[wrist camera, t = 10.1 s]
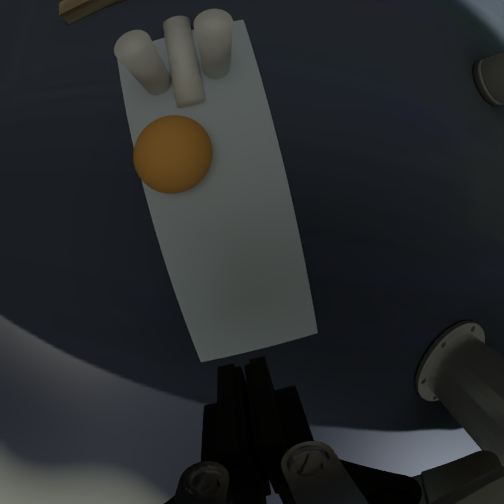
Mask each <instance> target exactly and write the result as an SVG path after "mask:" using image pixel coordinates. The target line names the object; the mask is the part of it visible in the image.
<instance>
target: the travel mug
mask: <svg viewBox="0 0 504 504" xmlns="http://www.w3.org/2000/svg"><path fill="white" fill-rule="evenodd" d="M473 74H474V79H475V83H476V85H477V88H478V90H479V92H480V93H481V95H482V96H483V98H484V99H485V100H486V101H487V102H488V103H490V104H492V105H495V106H496V105H502V104H504V53H501V54H497V55H494V56H491V57H488V58H485V59H482V60H479V61H477V62H476V63H475V65H474V68H473Z"/></svg>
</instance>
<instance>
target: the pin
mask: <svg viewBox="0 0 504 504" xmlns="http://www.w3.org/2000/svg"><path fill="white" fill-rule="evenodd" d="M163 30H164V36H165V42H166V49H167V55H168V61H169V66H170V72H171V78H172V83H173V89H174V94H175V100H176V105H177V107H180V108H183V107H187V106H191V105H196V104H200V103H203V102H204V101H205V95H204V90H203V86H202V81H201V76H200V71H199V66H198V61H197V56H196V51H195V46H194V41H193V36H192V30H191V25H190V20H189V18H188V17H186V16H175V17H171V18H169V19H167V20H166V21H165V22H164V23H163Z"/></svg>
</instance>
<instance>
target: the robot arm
mask: <svg viewBox="0 0 504 504" xmlns="http://www.w3.org/2000/svg"><path fill="white" fill-rule="evenodd" d="M245 374H246V381H245V378H244V375H243V372H242V369H241V367H240V366H238V367H235V365H234V364H229V365H224V366H219V367H218V387H217V403H214V404H208V405H205V406H204V414H203V431H202V451H201V462H199V463H196V464H193V465H192V466H190V467H188V468H187V469H186V470H185V471H184V472H183V474H182V475H181V477H180V480H179V483H178V487H177V490H176V494H175V496H174V497H172V498H171V499H170V500H169V501H167V502H166V503H164V504H266V496H267V495H271V490H270V484H269V480H270V483H271V485H272V487H273V489H274V491H275V493H276V494H279V496H280V498H281V500H282V502H283V504H504V357H502V356H501V355H500V354H498V353H497V352H496V351H494V350H493V349H492V348H490V347H489V346H488V345H486V344H485V335H484V331H483V329H482V327H481V326H480V325H478V324H477V323H475V322H473V321H469V320H467V321H462V322H459V323H457V324H455V325H453V326H452V327H450V328H448V329H447V330H446V331H445V332H444V333H442V334H441V335H440V336H439V337H438V338H437V339H436V340H435V342H434V343H433V344H432V345H431V347H430V348H429V349H428V351H427V352H426V354H425V355H424V357H423V359H422V361H421V363H420V365H419V368H418V371H417V374H416V379H415V386H416V390H417V392H418V394H419V395H420V396H421V397H422V398H423V399H425V400H427V401H437V400H440V401H441V403H442V404H443V405H444V406H445V407H446V408H447V410H448V411H449V412H450V413H451V414H452V415H453V416H454V418H455V419H456V420H457V421H458V422H459V423H460V425H461V426H462V427H463V428H464V429H465V430H466V432H467V433H468V434H469V435H470V436H471V438H472V439H473V440H474V441H475V442H476V444H477V445H478V446H479V447H480V448H481V450H482V451H478V452H475V453H473V454H470V455H468V456H465V457H463V458H460V459H458V460H455V461H452V462H450V463H447V464H444V465H441V466H438V467H435V468H432V469H429V470H426V471H423V472H422V473H421V474H420V475H417V476H413V477H408V476H406V475H401V474H395V473H391V472H386V471H382V470H378V469H374V468H369V467H366V466H362V465H358V464H354V463H351V462H347V461H344V460H340V459H339V458H338V457H337V455H336V454H335V452H334V451H333V449H331V447H330V446H329V445H327V444H325V443H323V442H317V441H314V440H313V437H312V434H311V431H310V428H309V425H308V422H307V419H306V416H305V413H304V410H303V407H302V404H301V401H300V398H299V395H298V392H297V389H296V386H295V385H293V386H290V387H286V388H282V389H278V390H274V387H273V384H272V380H271V377H270V373H269V370H268V366H267V363H266V359H265V356H263V357H259V358H255V359H250V364H247V365H245ZM246 382H247V384H246Z"/></svg>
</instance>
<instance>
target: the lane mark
mask: <svg viewBox="0 0 504 504" xmlns="http://www.w3.org/2000/svg"><path fill="white" fill-rule="evenodd" d="M192 36H193V41H194V46H195V51H196V56H197V61H198V66H199V71H200V76H201V81H202V86H203V90H204V95H205V101H204V102H203V103H200V104H196V105H191V106H187V107H183V108H180V107H177V105H176V100H175V94H174V89H173V83H172V84H171V87H170V89H169V90H168V91H167V92H166V93H164V94H162V95H158V96H154V95H151V94H149V93H148V92H147V91H146V90H145V88H144V87H143V86H142V85H141V84H140V83H139V82H138V81H137V79H136V78H135V77H134V76H133V75H132V74H131V73H130V72H129V70H128V69H127V68H126V67H125V66H124V65H123V64H122V63H121V62H120V60H119V59H118V58H117V60H118V67H119V73H120V79H121V85H122V91H123V97H124V102H125V107H126V113H127V118H128V123H129V127H130V132H131V137H132V141H133V146H134V147H135V143H136V141H137V138H138V136H139V135H140V133H141V132H142V131H143V129H144V128H145V127H146V126H147V125H149V124H150V123H151V122H153V121H154V120H156V119H158V118H161V117H164V116H169V115H180V116H185V117H188V118H191V119H193V120H194V121H196V122H198V123H199V124H200V125H201V126H202V127H203V128H204V129H205V131H206V132H207V134H208V135H209V137H210V140H211V143H212V149H213V156H212V162H211V166H210V168H209V170H208V172H207V174H206V176H205V177H204V178H203V179H202V180H201V182H199V183H198V184H197V185H196V186H194V187H193V188H191V189H189V190H187V191H185V192H181V193H176V194H167V193H162V192H158V191H156V190H154V189H152V188H150V187H149V186H147V185H146V184H145V183H144V182H143V181H142V184H143V187H144V191H145V195H146V199H147V203H148V206H149V210H150V213H151V217H152V221H153V224H154V228H155V231H156V234H157V238H158V241H159V244H160V248H161V251H162V254H163V257H164V260H165V264H166V267H167V270H168V273H169V276H170V279H171V282H172V285H173V288H174V291H175V294H176V297H177V300H178V302H179V305H180V308H181V311H182V314H183V316H184V319H185V322H186V325H187V327H188V330H189V333H190V335H191V338H192V341H193V343H194V346H195V348H196V351H197V353H198V356H199V359H200V361H201V362H205V361H209V360H214V359H219V358H223V357H228V356H232V355H237V354H241V353H245V352H249V351H253V350H257V349H261V348H265V347H269V346H273V345H277V344H281V343H284V342H288V341H292V340H295V339H299V338H302V337H306V336H309V335H313V334H316V333H318V331H317V325H316V320H315V314H314V308H313V303H312V297H311V292H310V286H309V281H308V276H307V270H306V265H305V260H304V255H303V250H302V245H301V240H300V236H299V231H298V226H297V222H296V217H295V212H294V208H293V203H292V199H291V194H290V190H289V186H288V181H287V177H286V173H285V169H284V164H283V160H282V156H281V152H280V148H279V144H278V140H277V136H276V132H275V128H274V124H273V121H272V117H271V113H270V109H269V105H268V102H267V98H266V94H265V91H264V87H263V84H262V80H261V77H260V73H259V70H258V66H257V63H256V59H255V56H254V53H253V49H252V46H251V43H250V39H249V36H248V33H247V30H246V26H245V23H244V20H239V21H233V30H232V47H231V65H230V71H229V73H228V74H227V75H226V76H225V77H223V78H221V79H210V78H208V77H207V76H206V75H205V74H204V73H203V69H202V64H201V59H200V54H199V49H198V44H197V40H196V35H195V30H192ZM152 42H153V44H154V46H155V48H156V50H157V52H158V54H159V56H160V57H161V59H162V61H163V63H164V65H165V67H166V69H167V71H168V73H169V75H170V76H171V72H170V66H169V61H168V55H167V49H166V42H165V38H162V39H158V40H155V41H152ZM171 79H172V78H171Z"/></svg>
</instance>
